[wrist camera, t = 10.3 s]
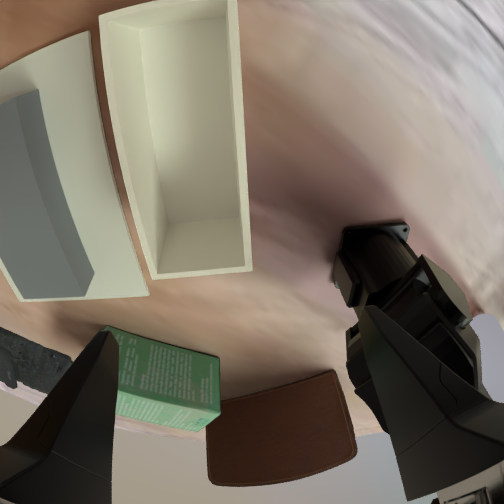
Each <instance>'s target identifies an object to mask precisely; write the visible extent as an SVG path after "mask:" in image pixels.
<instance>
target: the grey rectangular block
mask: <svg viewBox="0 0 504 504" xmlns="http://www.w3.org/2000/svg"><path fill="white" fill-rule="evenodd" d="M0 258H1V260H2V262H3V264H4V266H5V267H6V269H7V271H8V273H9V275H10V277H11V278H12V280H13V282H14V283H15V285H16V287H17V289H18V290H19V292H20V294H21V295H22V297H23V298H24V299H43V298H65V297H85V295H86V293H87V290H88V288H89V286H90V283H91V281H92V278H93V276H94V274H95V272H94V270H93V268H92V266H91V263H90V261H89V259H88V256H87V254H86V251H85V249H84V247H83V244H82V242H81V239H80V237H79V234H78V231H77V229H76V226H75V223H74V221H73V218H72V215H71V212H70V209H69V207H68V204H67V201H66V198H65V195H64V191H63V188H62V185H61V182H60V179H59V175H58V172H57V168H56V165H55V161H54V158H53V154H52V150H51V146H50V142H49V138H48V134H47V129H46V125H45V120H44V115H43V110H42V105H41V100H40V94H39V89H38V90H35V91H32V92H29V93H26V94H23V95H20V96H17V97H15V98H12V99H10V100H8V101H6V102H5V103H3V104H1V105H0Z"/></svg>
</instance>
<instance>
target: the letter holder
mask: <svg viewBox="0 0 504 504" xmlns="http://www.w3.org/2000/svg"><path fill="white" fill-rule="evenodd" d="M220 410H221V414H220V415H219V416H218V417H216V418H215V419H214V420H213V421H211V422H210V423H209V424H208V425H206V447H207V448H206V450H207V470H208V478H209V480H210V481H211V483H212V484H214V485H217V486H230V487H246V486H262V485H271V484H278V483H284V482H289V481H294V480H298V479H302V478H305V477H309V476H312V475H315V474H318V473H321V472H324V471H326V470H328V469H331V468H334V467H336V466H339V465H341V464H343V463H346V462H348V461H350V460H351V459H353V458H354V457H355V456H356V454H357V444H356V440H355V434H354V428H353V424H352V421H351V417H350V414H349V410H348V407H347V403H346V400H345V396H344V393H343V391H342V388H341V385H340V382H339V379H338V376H337V374H336V371H335V370H331V371H329V372H326V373H323V374H320V375H317V376H314V377H311V378H307V379H304V380H301V381H298V382H295V383H291V384H288V385H284V386H281V387H277V388H273V389H270V390H266V391H262V392H258V393H254V394H250V395H246V396H242V397H237V398H233V399H228V400H224V401H220Z"/></svg>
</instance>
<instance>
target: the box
mask: <svg viewBox="0 0 504 504" xmlns="http://www.w3.org/2000/svg"><path fill="white" fill-rule="evenodd" d="M104 330H110V331H111V332H112V333H113V335H114V337H115V339H116V340H117V342H118V344H119V383H118V394H117V403H116V413H115V414H117V415H121V416H125V417H129V418H132V419H136V420H140V421H144V422H148V423H153V424H158V425H163V426H168V427H173V428H178V429H183V430H189V431H195V432H199V431H200V430H201V429H202V428H204V427H205V426H206V425H208V424H209V423H210V422H211V421H213V420H214V419H215V418H216V417H218V416H219V415H220V414H221V410H220V359H219V358H217V357H213V356H209V355H205V354H201V353H197V352H194V351H190V350H186V349H182V348H179V347H175V346H171V345H167V344H164V343H160V342H157V341H153V340H150V339H147V338H143V337H140V336H137V335H134V334H131V333H127V332H124V331H121V330H118V329H115V328H112V327H110V326H107V327H106V328H105V329H104Z"/></svg>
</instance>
